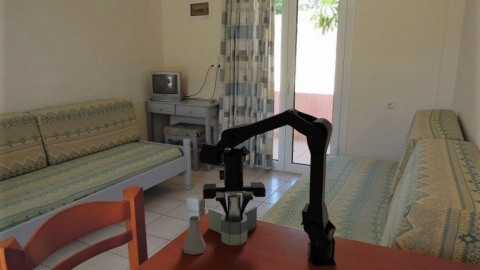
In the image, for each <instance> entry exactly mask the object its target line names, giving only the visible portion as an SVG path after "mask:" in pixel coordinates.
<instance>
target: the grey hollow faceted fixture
mask: <svg viewBox="0 0 480 270" xmlns="http://www.w3.org/2000/svg"><path fill="white" fill-rule="evenodd" d="M257 211H258V207H257V206H256V205H253V206H252V207H249V208H248V209H247V210H246V209H245V211H244V213H243V215H242V217H241V221H239V222H229V221H228V217H226V214H225V215H222V216H221V231H222V232H224V233H226V234H228V235H229V234H230V235H240V234H242V233H244V232H246V231H247V233H248V232H249V231H252V230H253V229H254V228H257V226H258V224H257V222H258V217H257V216H258V212H257Z"/></svg>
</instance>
